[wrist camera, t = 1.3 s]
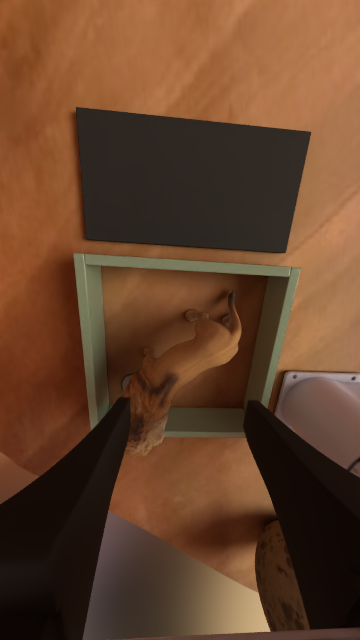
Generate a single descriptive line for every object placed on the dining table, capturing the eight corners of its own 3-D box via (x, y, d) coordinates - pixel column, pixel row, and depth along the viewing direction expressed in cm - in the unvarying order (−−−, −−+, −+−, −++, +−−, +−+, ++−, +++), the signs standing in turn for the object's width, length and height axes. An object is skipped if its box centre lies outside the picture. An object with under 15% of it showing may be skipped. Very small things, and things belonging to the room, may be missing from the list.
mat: (307, 135, 15) (311, 131, 15) (282, 253, 18) (285, 253, 18) (78, 111, 14) (75, 106, 14) (88, 239, 17) (85, 239, 17)
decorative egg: (254, 498, 29) (338, 739, 14) (320, 505, 30) (459, 734, 15) (233, 542, 32) (285, 776, 17) (293, 546, 33) (389, 770, 18)
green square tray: (278, 266, 18) (301, 267, 15) (247, 413, 24) (260, 438, 20) (91, 254, 17) (72, 252, 14) (102, 410, 23) (91, 436, 19)
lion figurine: (157, 398, 22) (148, 483, 14) (120, 372, 21) (85, 448, 13) (249, 306, 20) (310, 342, 11) (212, 270, 18) (248, 279, 10)
